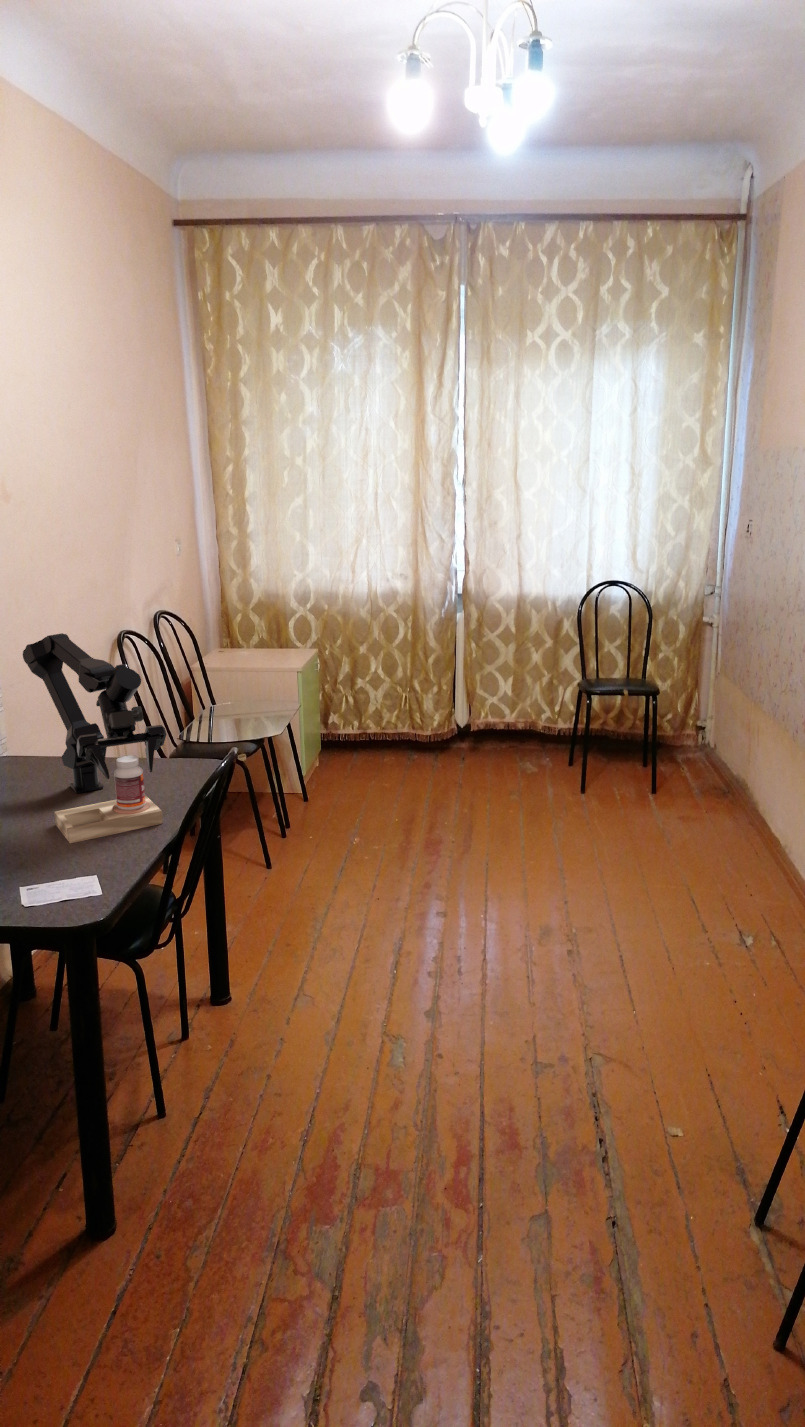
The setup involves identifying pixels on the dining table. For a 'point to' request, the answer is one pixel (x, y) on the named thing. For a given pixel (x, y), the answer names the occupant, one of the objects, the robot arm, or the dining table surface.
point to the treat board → (105, 820)
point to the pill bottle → (129, 783)
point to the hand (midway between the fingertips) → (130, 774)
